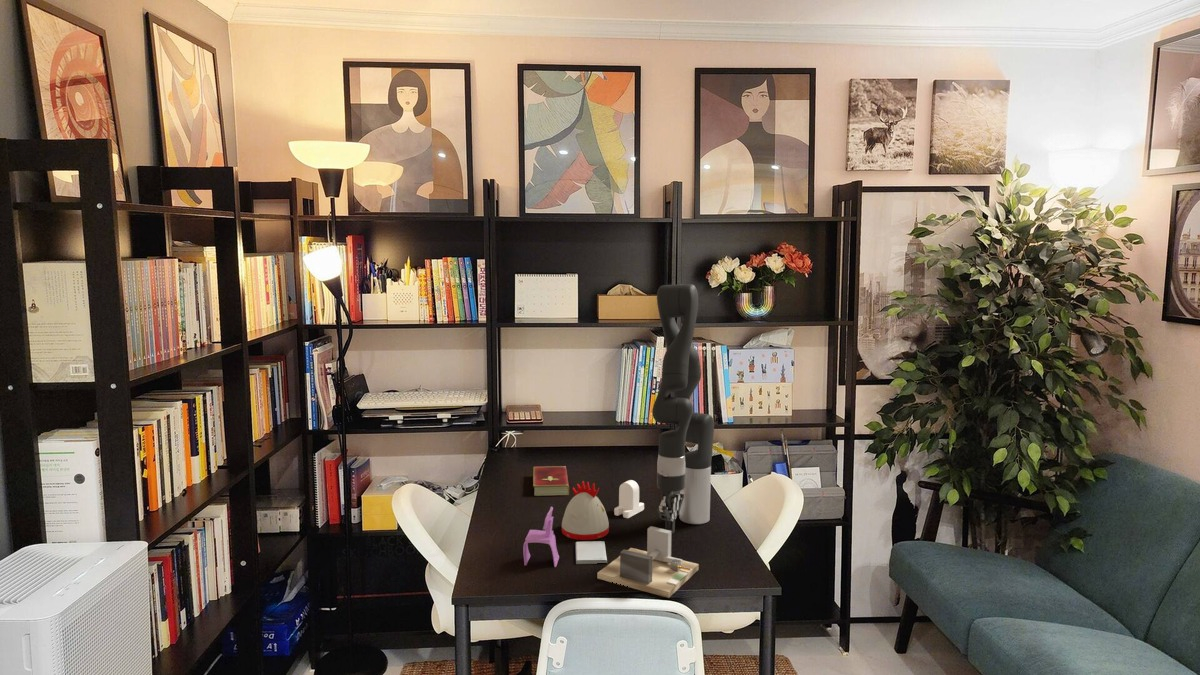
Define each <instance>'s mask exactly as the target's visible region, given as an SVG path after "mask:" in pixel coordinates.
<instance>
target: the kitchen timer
mask: <svg viewBox="0 0 1200 675" xmlns="http://www.w3.org/2000/svg"><path fill="white" fill-rule="evenodd" d="M590 487H591V488H590ZM576 488H577V490H576ZM576 488H575V487H572V492H573V494H574V495H573V497H572V498H571V499H570V501H569V502H568V503H567V505H566V507H565V510H564V513H563V516H562V522H561V533H562V535H564V536H565V537H567V538H569V539H573V540H581V541H590V540H597V539H600V538H603V537H605V536H607V535H608V533H609V532H610V531H609V530H610V525H609V518H608V515H607V512H606V509H605V507H604V505H603V503H602V502H601V500H600V499H599V497H598V496H597V494H598V492H599V491H600V487H598V488H597V489H596V484H595V482H594V483H592V485H591V486H590V482H589V481H587V482H586V484H585V481H584V480H582V482H581V485H580V484H579V483H577V484H576Z"/></svg>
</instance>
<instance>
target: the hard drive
mask: <svg viewBox="0 0 1200 675" xmlns="http://www.w3.org/2000/svg"><path fill="white" fill-rule="evenodd" d="M597 563H607V564H608V557H607V551H606V544H605V541H601V540H600V541H599V540H598V541H594V540H593V541H590V540H587V541H576V542H575V564H576V565H595V564H597ZM597 565H598V564H597Z"/></svg>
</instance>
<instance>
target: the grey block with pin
mask: <svg viewBox="0 0 1200 675" xmlns="http://www.w3.org/2000/svg"><path fill="white" fill-rule="evenodd" d="M670 569H672V570H676V571H678V570H679V569H684V570H688V571H690V568H686V567H682V566H681V560H677V559H673V560H672V561H671V564H670Z"/></svg>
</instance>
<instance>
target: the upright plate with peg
mask: <svg viewBox="0 0 1200 675" xmlns="http://www.w3.org/2000/svg"><path fill="white" fill-rule="evenodd" d="M646 534H647V535H646V536H647V539H646V540H647V541H646V543H647V546H646V548H647V549H646V552H647V555H649V556H653V559H652V560H654V559H655V560H659V561H663V562H667V563H668V562H669V563H671V561H672V560H673V559H677V560H681V565H682V564H683V561H684V560H683V559H682V558H677V557H673V556H672V534H671V531H670V530H665V528H660V527H656V526H652V525H651V526H649V527H648V528H647V533H646Z"/></svg>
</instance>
